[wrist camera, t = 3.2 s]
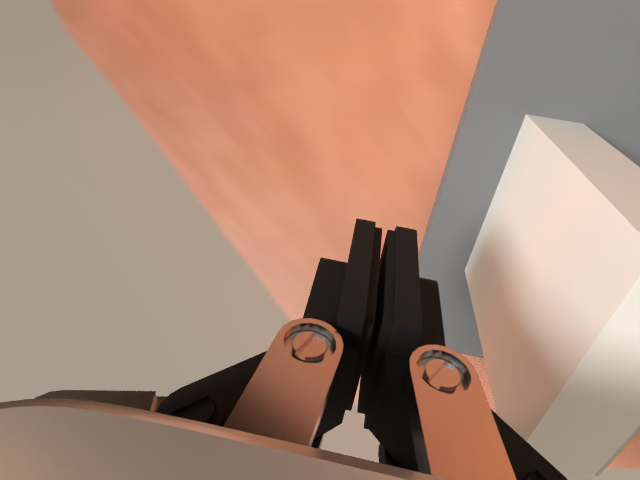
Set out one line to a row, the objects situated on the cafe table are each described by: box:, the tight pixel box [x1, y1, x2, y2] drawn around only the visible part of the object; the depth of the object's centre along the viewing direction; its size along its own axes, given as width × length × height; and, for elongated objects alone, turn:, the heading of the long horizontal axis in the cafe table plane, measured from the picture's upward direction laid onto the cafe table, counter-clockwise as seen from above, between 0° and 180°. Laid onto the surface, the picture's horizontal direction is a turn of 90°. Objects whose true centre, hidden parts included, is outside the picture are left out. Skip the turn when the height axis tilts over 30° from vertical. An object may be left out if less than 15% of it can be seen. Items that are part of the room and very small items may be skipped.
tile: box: [465, 114, 640, 480], centre depth 13 cm, size 2×7×9 cm, turn 173°
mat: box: [418, 0, 640, 358], centre depth 17 cm, size 14×17×1 cm
